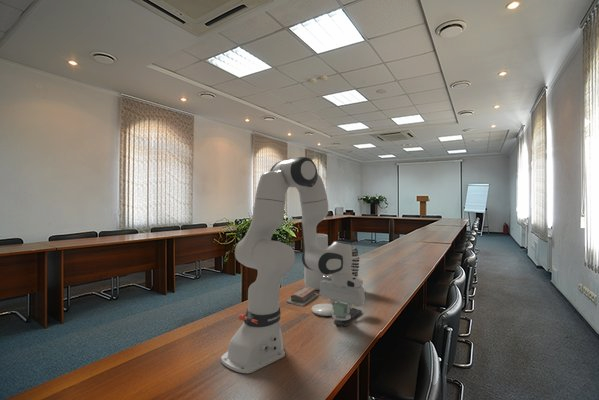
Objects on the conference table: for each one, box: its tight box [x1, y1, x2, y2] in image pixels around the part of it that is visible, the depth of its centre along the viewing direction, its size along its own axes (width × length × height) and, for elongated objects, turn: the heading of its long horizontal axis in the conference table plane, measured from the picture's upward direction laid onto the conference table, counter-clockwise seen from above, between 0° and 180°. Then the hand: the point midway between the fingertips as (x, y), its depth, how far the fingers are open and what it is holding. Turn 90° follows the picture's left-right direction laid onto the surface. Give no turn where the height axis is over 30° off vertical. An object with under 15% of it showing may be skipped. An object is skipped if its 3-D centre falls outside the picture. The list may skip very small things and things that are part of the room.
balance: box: [331, 307, 363, 327], centre depth 130 cm, size 22×8×10 cm, turn 145°
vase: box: [303, 233, 329, 291], centre depth 175 cm, size 14×14×32 cm
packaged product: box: [285, 286, 319, 307], centre depth 154 cm, size 18×5×10 cm
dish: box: [311, 303, 334, 317], centre depth 137 cm, size 13×13×2 cm
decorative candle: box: [351, 246, 360, 278], centre depth 169 cm, size 9×9×25 cm
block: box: [334, 301, 348, 317], centre depth 123 cm, size 4×4×4 cm
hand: (341, 311), depth 124 cm, fingers closed on block, 4 cm apart
